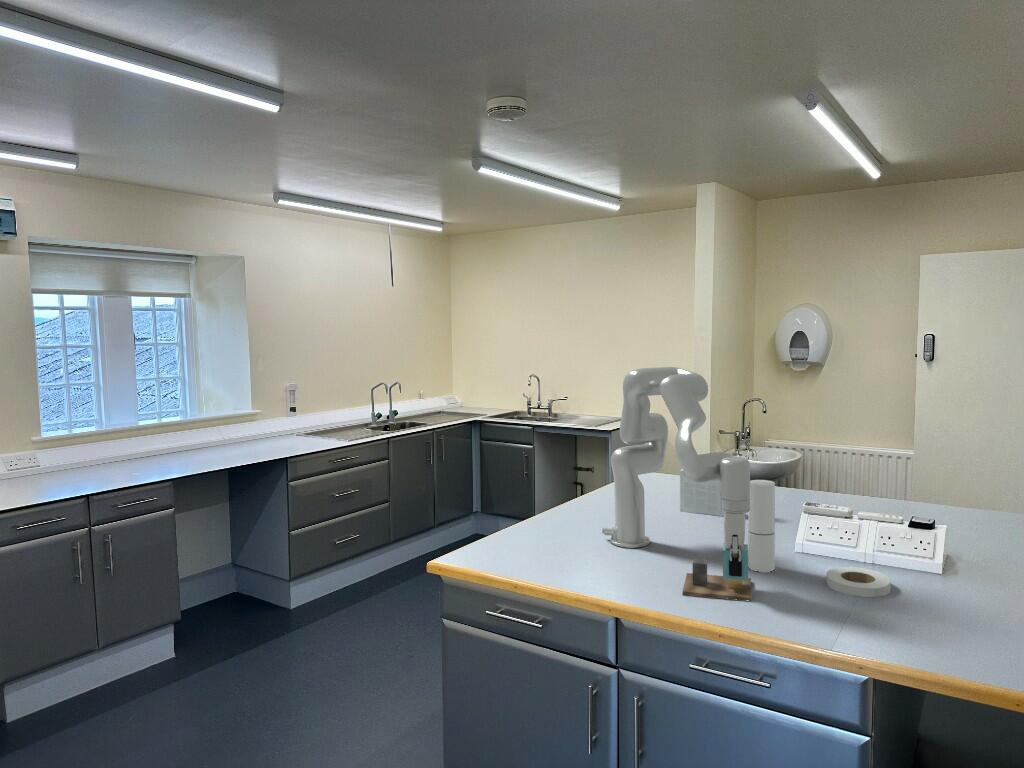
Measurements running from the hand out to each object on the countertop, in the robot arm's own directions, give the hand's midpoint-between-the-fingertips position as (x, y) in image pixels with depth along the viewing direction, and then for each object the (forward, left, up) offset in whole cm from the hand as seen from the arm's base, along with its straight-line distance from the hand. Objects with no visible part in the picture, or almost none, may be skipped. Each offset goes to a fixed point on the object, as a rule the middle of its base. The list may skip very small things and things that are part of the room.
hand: (735, 570), depth 184 cm
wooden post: (0, 0, -5) cm, 5 cm away
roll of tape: (+31, +11, -6) cm, 33 cm away
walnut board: (-5, 0, -5) cm, 7 cm away
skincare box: (-10, +76, -6) cm, 77 cm away
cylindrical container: (+7, +19, -5) cm, 21 cm away
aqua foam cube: (0, 0, -1) cm, 1 cm away
